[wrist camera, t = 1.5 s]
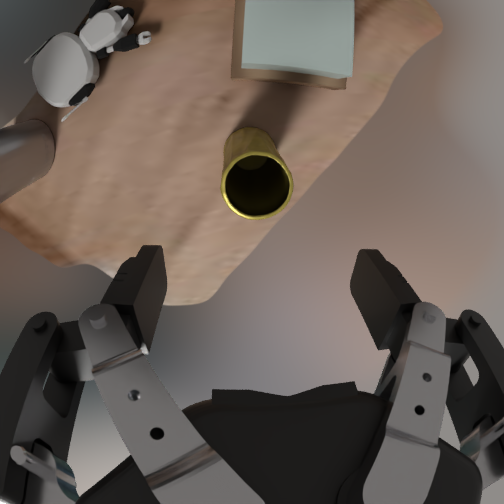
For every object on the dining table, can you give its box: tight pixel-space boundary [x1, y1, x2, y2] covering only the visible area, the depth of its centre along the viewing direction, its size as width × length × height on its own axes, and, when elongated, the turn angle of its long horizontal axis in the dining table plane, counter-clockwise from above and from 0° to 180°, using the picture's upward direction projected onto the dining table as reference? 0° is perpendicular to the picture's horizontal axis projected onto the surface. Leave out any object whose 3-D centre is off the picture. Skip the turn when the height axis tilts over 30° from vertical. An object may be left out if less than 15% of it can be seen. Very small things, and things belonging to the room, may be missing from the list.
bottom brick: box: [231, 0, 347, 90], centre depth 22 cm, size 12×12×4 cm
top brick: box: [241, 0, 354, 79], centre depth 19 cm, size 10×10×4 cm
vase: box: [220, 127, 293, 220], centre depth 25 cm, size 6×6×14 cm
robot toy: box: [24, 0, 152, 122], centre depth 21 cm, size 12×4×15 cm
